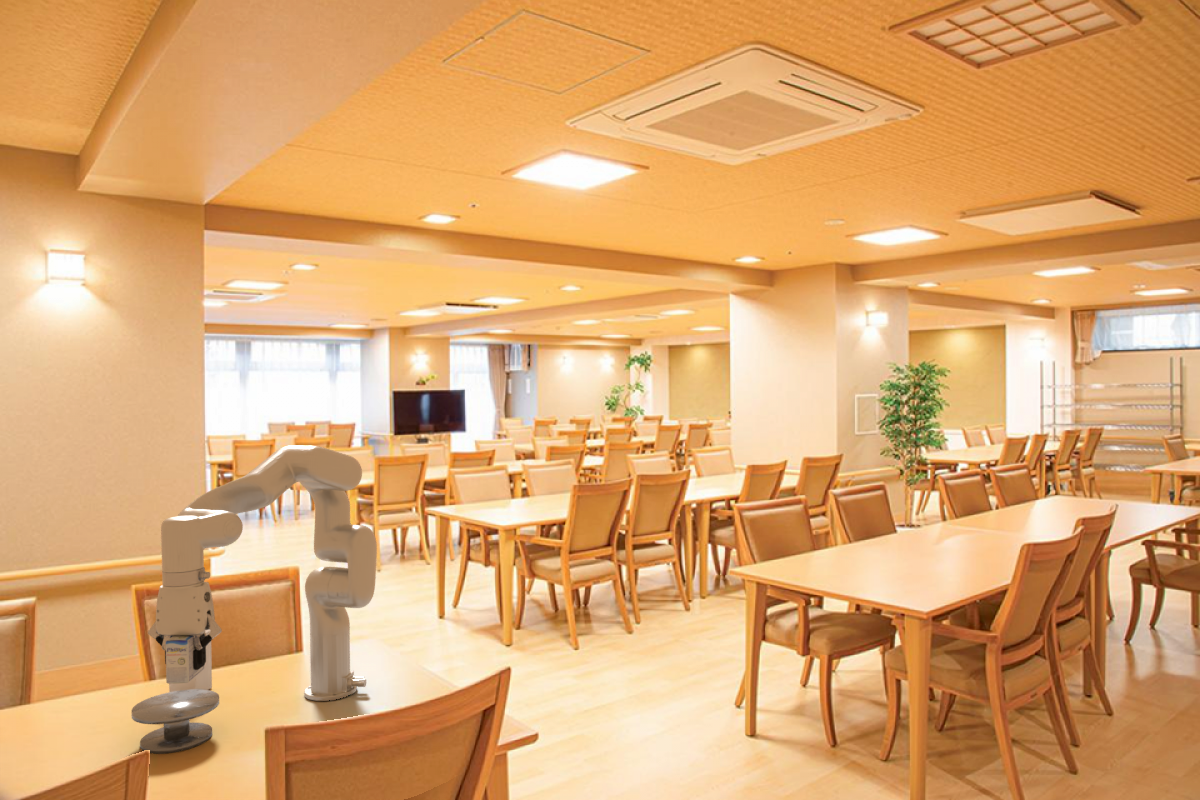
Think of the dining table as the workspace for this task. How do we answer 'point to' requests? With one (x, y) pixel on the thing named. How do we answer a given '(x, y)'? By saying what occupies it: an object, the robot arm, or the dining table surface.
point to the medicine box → (180, 659)
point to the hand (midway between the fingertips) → (185, 666)
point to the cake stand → (175, 720)
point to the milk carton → (198, 675)
